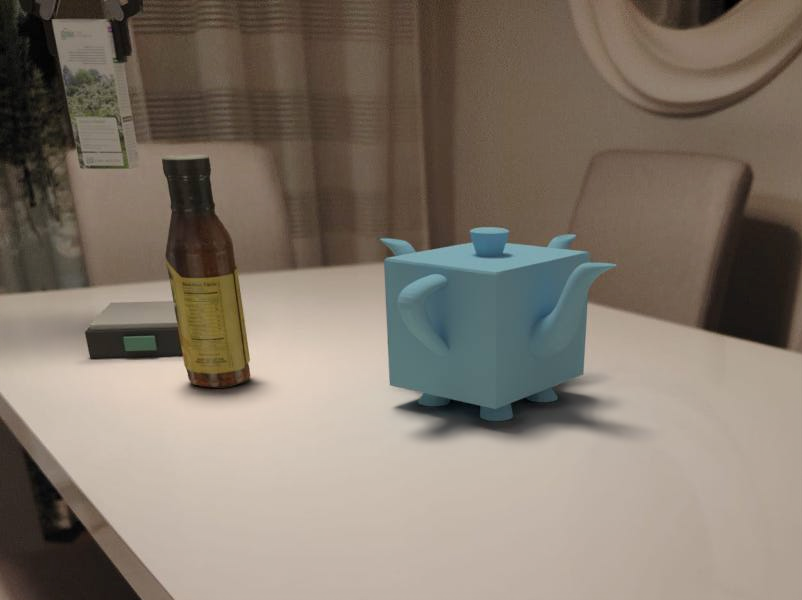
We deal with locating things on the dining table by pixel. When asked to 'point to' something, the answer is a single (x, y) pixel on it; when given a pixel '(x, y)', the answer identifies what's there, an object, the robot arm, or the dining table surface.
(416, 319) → the teakettle
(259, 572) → the dining table surface
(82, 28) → the syrup box
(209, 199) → the sauce bottle
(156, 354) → the scale
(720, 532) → the dining table surface
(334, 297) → the dining table surface
